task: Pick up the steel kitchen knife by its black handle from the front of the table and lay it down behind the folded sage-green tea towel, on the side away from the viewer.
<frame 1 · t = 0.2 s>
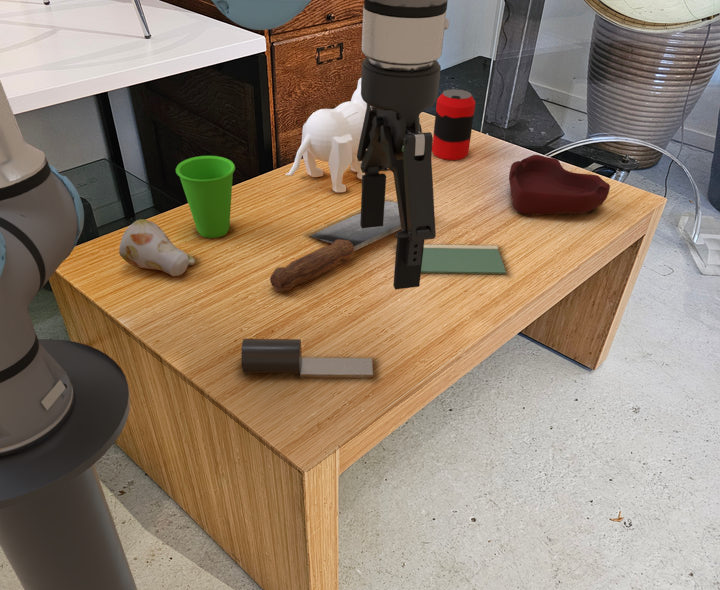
hand: (387, 254, 76), 15 cm above the table, tool pointing down, fingers open, 13 cm apart
meat cleaver: (341, 245, 107), on the table
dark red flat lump: (543, 204, 120), on the table
cup: (213, 231, 109), on the table
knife: (308, 369, 83), on the table
soda can: (449, 154, 137), on the table
cat figurine: (340, 181, 125), on the table
pale spotted pear: (162, 268, 100), on the table
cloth: (451, 260, 104), on the table
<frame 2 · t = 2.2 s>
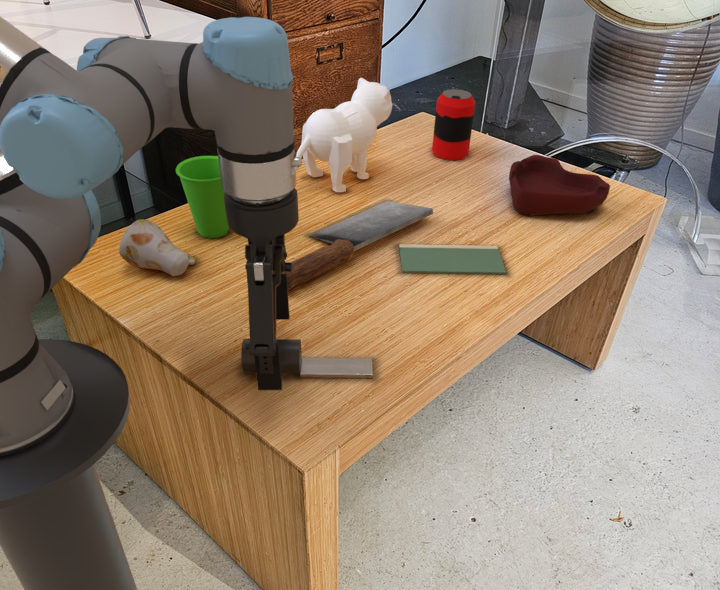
hand: (274, 351, 81), 3 cm above the table, tool pointing down, fingers open, 13 cm apart
nothing on the table moved.
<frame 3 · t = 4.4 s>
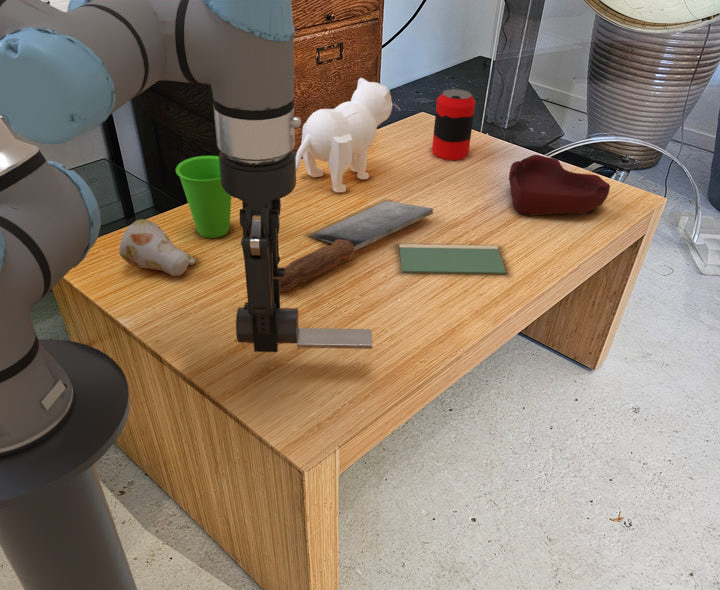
hand: (267, 336, 79), 5 cm above the table, tool pointing down, fingers closed on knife, 4 cm apart
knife: (306, 339, 80), point 5 cm above the table, touching gripper
everything else where it was.
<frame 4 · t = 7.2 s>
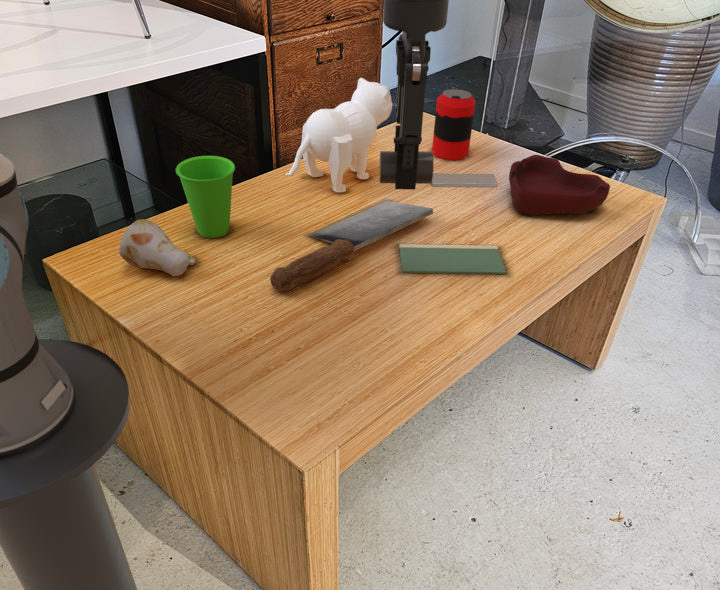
hand: (404, 179, 91), 15 cm above the table, tool pointing down, fingers closed on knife, 4 cm apart
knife: (437, 182, 91), point 15 cm above the table, touching gripper
everything else where it was.
when the fingers open (0 cm above the table, at t = 10.3 s): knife stays where it is, on the table.
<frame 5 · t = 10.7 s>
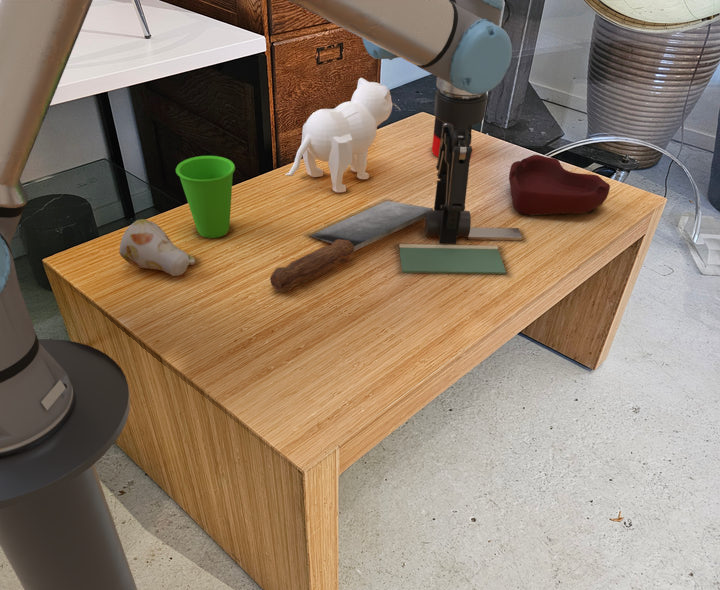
hand: (444, 229, 110), 1 cm above the table, tool pointing down, fingers open, 8 cm apart
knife: (472, 235, 110), on the table
everything else where it was.
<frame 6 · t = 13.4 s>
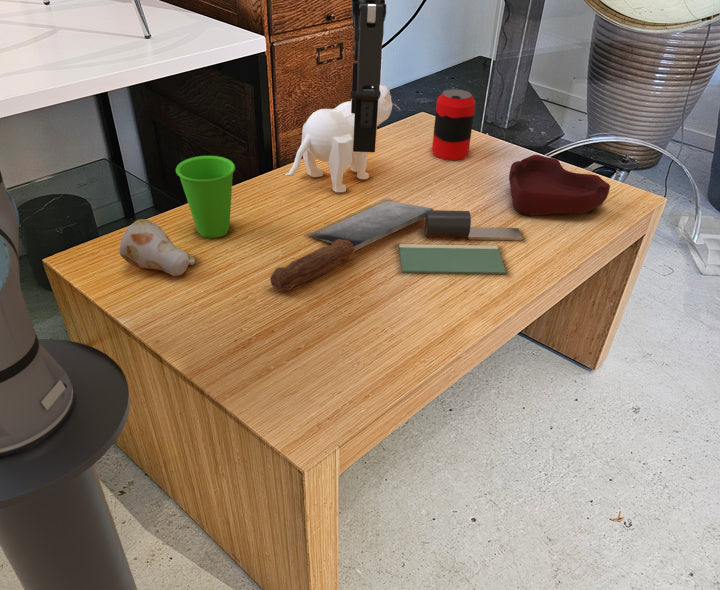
hand: (362, 131, 87), 22 cm above the table, tool pointing down, fingers open, 13 cm apart
nothing on the table moved.
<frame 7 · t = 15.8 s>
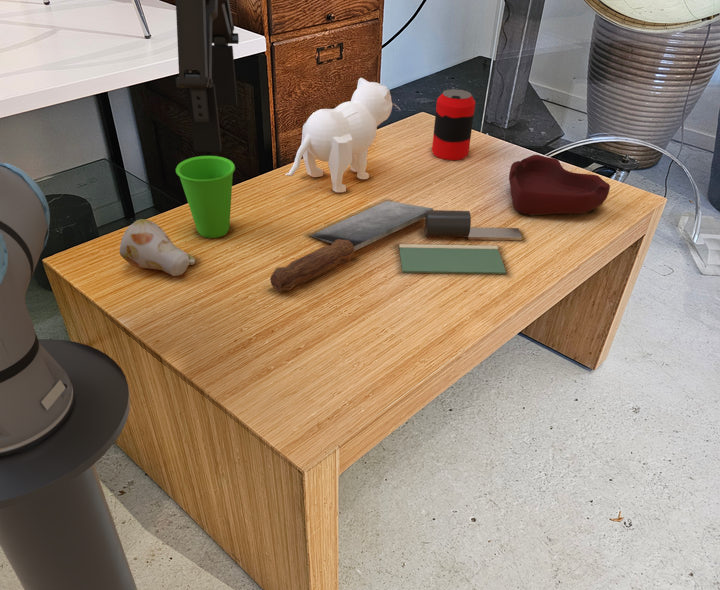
hand: (217, 126, 73), 27 cm above the table, tool pointing down, fingers open, 13 cm apart
nothing on the table moved.
at the end: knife inside the target area on the table beside the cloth (0.7 cm from its centre), on the table; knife touching table; the gripper is holding nothing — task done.
